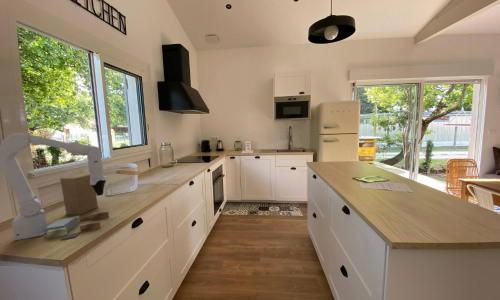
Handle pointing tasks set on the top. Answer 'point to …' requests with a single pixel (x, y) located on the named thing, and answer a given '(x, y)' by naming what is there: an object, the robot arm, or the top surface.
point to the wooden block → (78, 194)
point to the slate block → (62, 224)
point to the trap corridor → (82, 227)
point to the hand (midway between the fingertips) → (100, 195)
